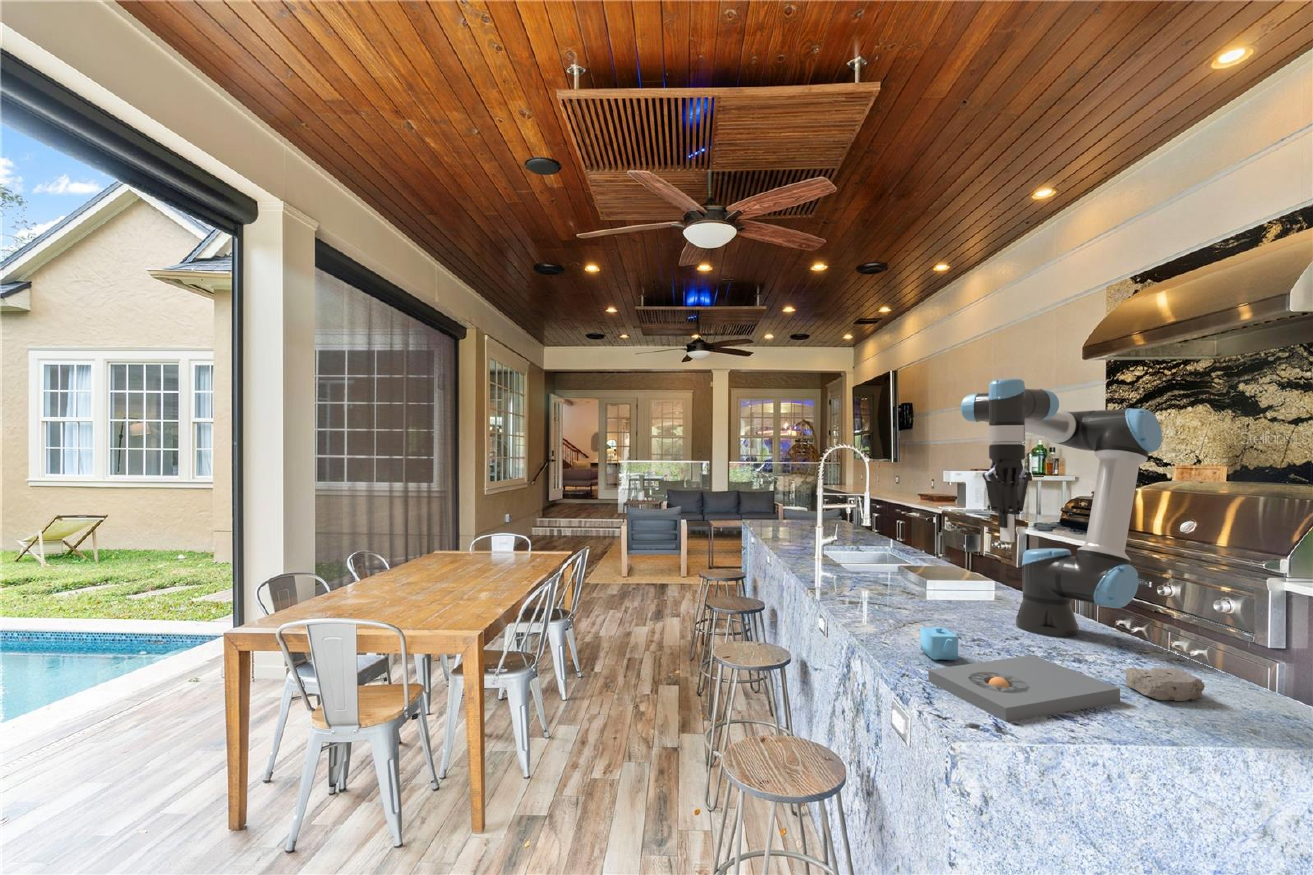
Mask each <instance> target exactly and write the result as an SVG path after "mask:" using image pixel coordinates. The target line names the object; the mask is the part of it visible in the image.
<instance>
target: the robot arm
mask: <svg viewBox="0 0 1313 875" xmlns="http://www.w3.org/2000/svg"><path fill="white" fill-rule="evenodd" d="M960 404H961V405H960V412H961V416H962V417H963V418H964V419H965V420H966V421H968V422H975V423H979V422H986V423H988V427H989V428H988V429H989V430H988V441H989V442H990V443H991V444H989V446H988V458H989V459H990V460H991V465H990V470H988V471H987V472H985V471H984V472H982V474H981V476H982V478H983V480H984V481H985V486H986V490H987V496H988V501H989V505H990V506H989V507H990V510H991V511H992V512H994V514H997V515H998V527H999V540H1000V541H1001V542H1007V543H1015V529H1016V525H1017V521H1016V520H1017V519H1016V518H1017V516H1018V515H1020V514H1021V512H1023V511H1024V506H1025V500H1026V496H1027V490H1028V484H1029V481H1030V479H1031V477H1032V472H1030V471H1026V470H1025V469H1024V465H1023V460H1025V459H1026V446H1025V445H1024V444H1023V443H1024V442H1025V441H1026V433H1029V434H1033V435H1036V436H1041V437H1044V438H1045V440H1047V441H1048V442H1051V443H1053V444H1058V445H1061V446H1065V447H1070V448H1073V449H1076V450H1082V451H1089V452H1090V451H1091V452H1092V451H1093V452H1094V456H1095V457H1097V459H1098V460H1099V464H1098V468H1097V469H1098V470H1097V475H1096V479H1095V481H1096V482H1095V486H1094V491H1093V496H1092V497H1093V498H1092V505H1091V509H1090V515H1089V520H1088V526H1087V530H1086V531H1087V532H1086V537H1085V544H1084V545H1082V546H1080V547H1078V548H1077V550H1076V555H1075V556H1074V555H1072V552H1071V550H1070V549H1067V548H1054V547H1053V548H1052V547H1049V548H1047V547H1046V548H1032V549H1027V550H1025V551H1024V552H1023V554H1022V561H1021V562H1022V563H1021V567H1022V568H1021V570H1022V571H1021V574H1022V602H1021V603H1020V606H1019V609H1018V612H1017V615H1016V617H1015V626H1016V627H1017V628H1018V629H1020V630H1022V631H1025V632H1028V633H1030V634H1031V633H1032V634H1034V635H1040V636H1045V637H1051V638H1074V637H1078V636H1079V634H1080V632H1079V631H1080V629H1079V628H1080V626H1079V624H1078V622H1077V619H1076V617H1075V613H1074V611H1073V607H1072V600H1074V601H1079V602H1084V603H1086V604H1087V603H1088V604H1092V605H1096V606H1099V607H1103V608H1104V607H1106V608H1112V609H1120V608H1121V609H1122V608H1123V607H1126V606H1127V605H1128V604H1130V603H1131V601H1133V599H1134V597H1135V596H1136V594H1137V592H1138V588H1139V584H1140V581H1139V580H1140V579H1139V577H1138V576H1139V573H1138V571H1137V569H1136V568H1135V567H1133V566H1132V565H1131V562H1132V561H1131V560H1132V559H1131V558H1130V557H1129V556H1128V555H1127V554H1126V545H1127V540H1128V534H1129V530H1130V529H1129V528H1130V524H1131V523H1130V521H1131V516H1132V510H1133V504H1134V499H1135V491H1136V486H1137V480H1138V476H1139V475H1138V474H1139V470H1140V469H1139V467H1140V466H1141V465H1143V464H1144V463H1146V462H1147V461H1148V459H1149V453H1154V452H1157V451H1159V448H1161V446H1162V441H1163V433H1162V427H1161V425H1160V422H1159V420H1158V418H1157V416H1156V415H1155V414H1154V413H1153V412H1152V411H1150V410H1149V409H1145V408H1132V407H1129V408H1123V409H1120V408H1119V409H1101V410H1100V409H1099V410H1094V409H1093V410H1084V411H1083V410H1081V411H1068V410H1063V409H1061V410H1060V409H1059V408H1060V401H1059V397H1058V396H1057V395H1056V394H1055V393H1054V392H1052V391H1050V390H1046V389H1043V388H1039V389H1037V388H1036V389H1034V388H1033V389H1032V388H1031V389H1030V388H1026V387H1025V381H1024V380H1023V379H1021V378H1001V379H995V380H992V381H990V382H989V387H988V392H982V393H980V392H977V393H973V394H968V395H965V397H963V399H962V401H961V403H960ZM1016 515H1017V516H1016Z"/></svg>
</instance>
